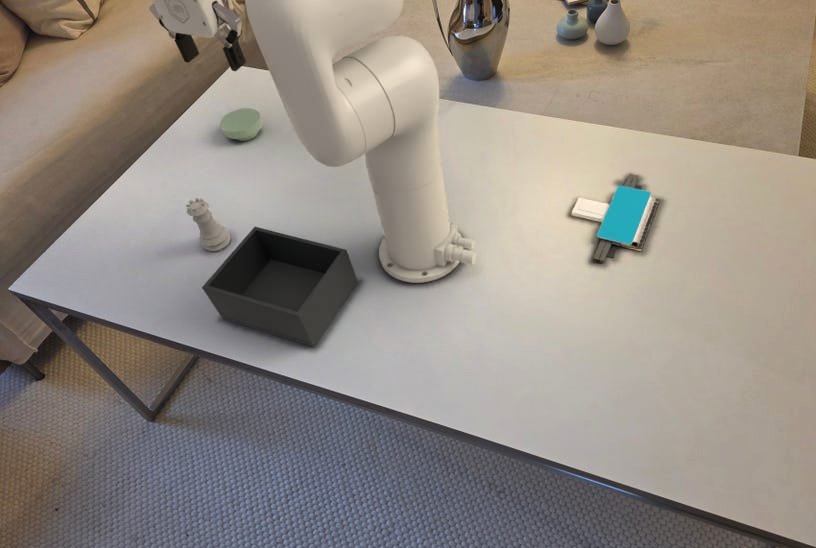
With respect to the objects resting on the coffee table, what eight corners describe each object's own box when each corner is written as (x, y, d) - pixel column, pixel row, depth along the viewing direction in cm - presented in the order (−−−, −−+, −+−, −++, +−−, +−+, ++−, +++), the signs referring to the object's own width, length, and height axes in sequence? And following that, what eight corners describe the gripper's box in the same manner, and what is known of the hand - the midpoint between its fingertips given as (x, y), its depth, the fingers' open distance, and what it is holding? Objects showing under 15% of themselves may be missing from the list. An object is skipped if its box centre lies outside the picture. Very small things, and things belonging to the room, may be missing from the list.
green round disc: (273, 125, 111) (268, 111, 109) (251, 148, 107) (244, 134, 105) (241, 119, 113) (235, 105, 111) (218, 141, 109) (211, 127, 107)
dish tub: (358, 282, 85) (346, 249, 80) (314, 347, 79) (298, 316, 73) (271, 259, 89) (254, 226, 84) (222, 319, 83) (201, 287, 77)
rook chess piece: (210, 257, 91) (186, 218, 84) (198, 242, 93) (174, 203, 86) (236, 243, 92) (215, 203, 86) (224, 228, 94) (203, 189, 88)
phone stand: (593, 169, 97) (594, 161, 96) (665, 184, 94) (667, 176, 92) (554, 251, 86) (554, 243, 85) (634, 272, 83) (635, 264, 82)
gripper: (103, -45, 86) (160, 66, 99) (198, -32, 81) (244, 82, 95) (138, -65, 90) (188, 44, 104) (230, -54, 85) (270, 58, 99)
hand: (215, 62), depth 99 cm, fingers open, 9 cm apart
